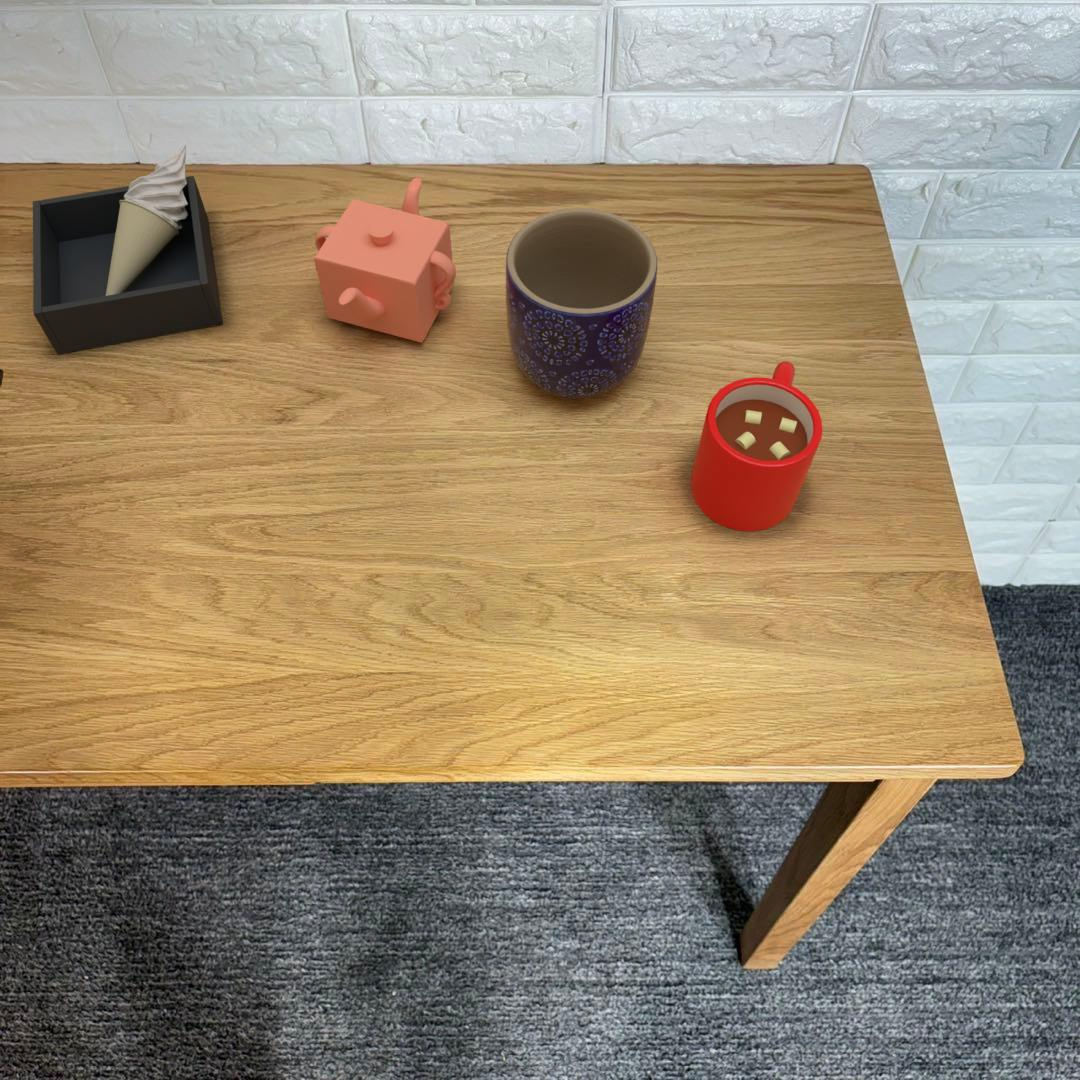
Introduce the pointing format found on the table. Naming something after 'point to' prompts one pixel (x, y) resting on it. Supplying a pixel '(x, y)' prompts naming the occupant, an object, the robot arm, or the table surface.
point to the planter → (579, 300)
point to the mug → (755, 451)
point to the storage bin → (84, 263)
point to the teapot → (386, 267)
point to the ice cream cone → (147, 220)
